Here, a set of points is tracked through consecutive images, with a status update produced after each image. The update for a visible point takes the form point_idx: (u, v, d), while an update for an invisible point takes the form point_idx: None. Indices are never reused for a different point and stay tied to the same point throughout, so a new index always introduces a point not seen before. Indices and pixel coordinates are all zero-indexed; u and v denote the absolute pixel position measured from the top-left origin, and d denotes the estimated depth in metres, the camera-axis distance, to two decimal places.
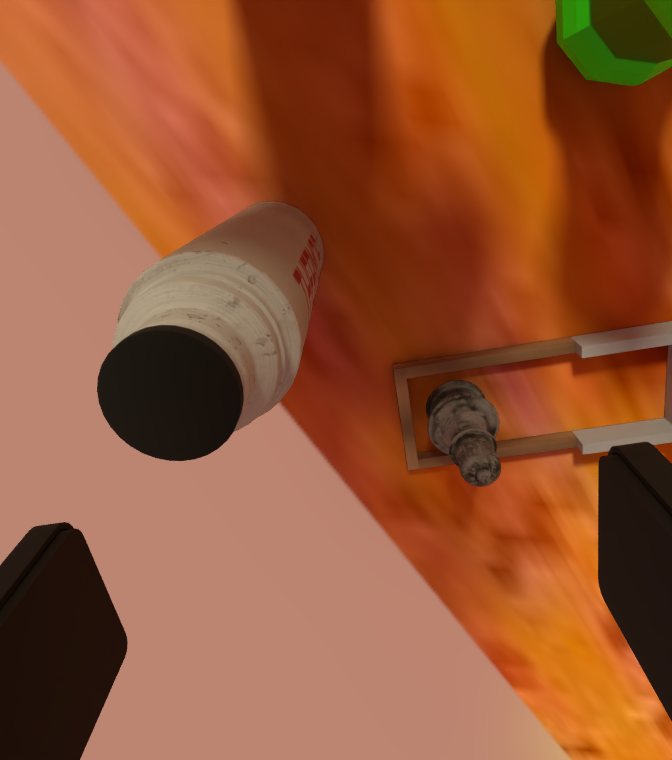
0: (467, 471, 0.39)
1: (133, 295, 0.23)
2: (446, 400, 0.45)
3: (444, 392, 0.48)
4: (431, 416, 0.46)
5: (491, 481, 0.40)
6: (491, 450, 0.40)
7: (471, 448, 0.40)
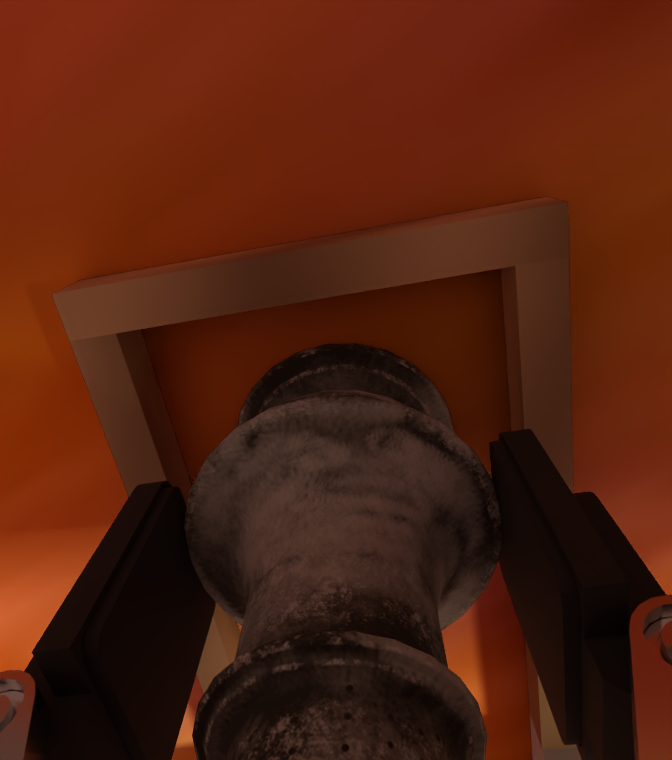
0: None
1: None
2: (479, 470, 0.10)
3: (420, 410, 0.13)
4: (397, 411, 0.09)
5: None
6: None
7: None
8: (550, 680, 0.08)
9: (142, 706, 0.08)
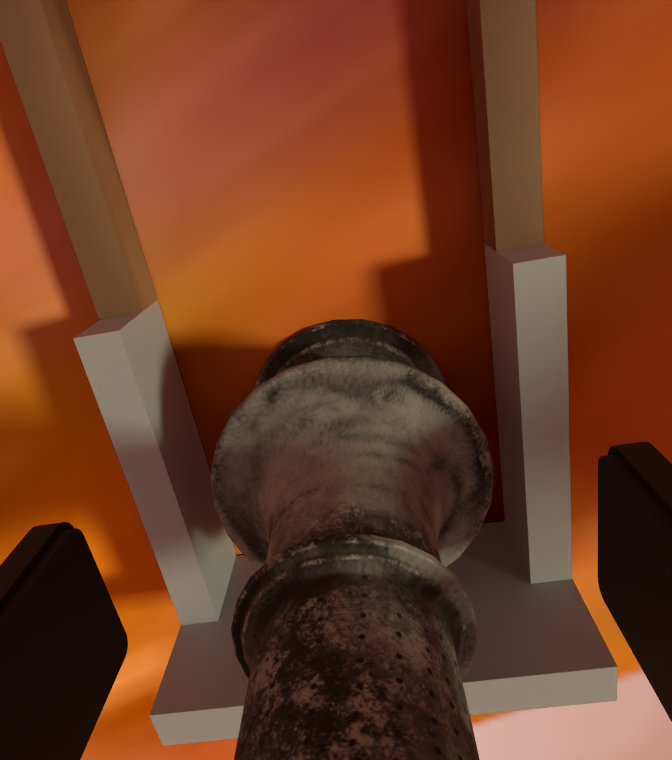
0: None
1: None
2: (472, 422, 0.11)
3: None
4: (400, 369, 0.10)
5: None
6: None
7: (473, 752, 0.06)
8: None
9: None
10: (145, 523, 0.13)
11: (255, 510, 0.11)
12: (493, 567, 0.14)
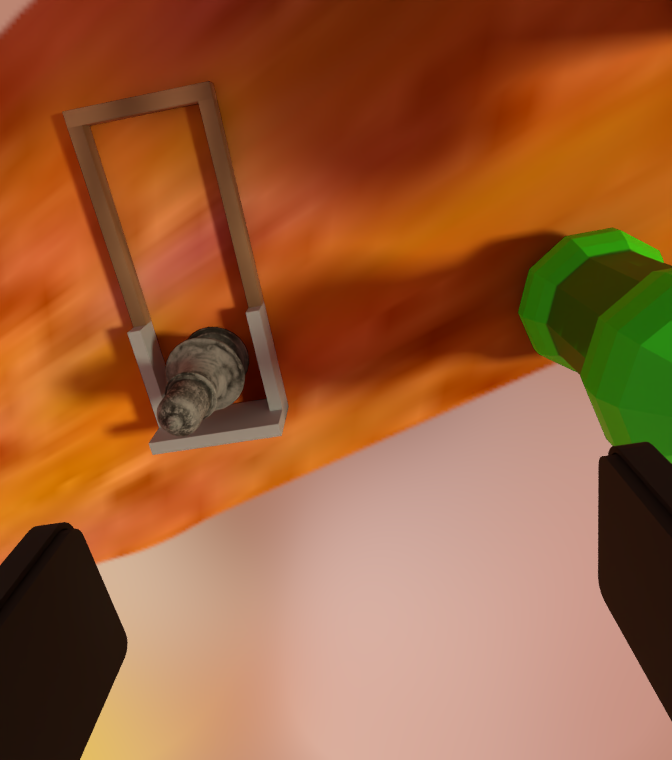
0: (177, 404, 0.34)
1: None
2: (235, 356, 0.40)
3: (235, 346, 0.43)
4: (214, 341, 0.40)
5: (166, 429, 0.35)
6: (200, 422, 0.36)
7: (200, 401, 0.35)
8: None
9: None
10: (147, 390, 0.43)
11: None
12: (261, 408, 0.44)
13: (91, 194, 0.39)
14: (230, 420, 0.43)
